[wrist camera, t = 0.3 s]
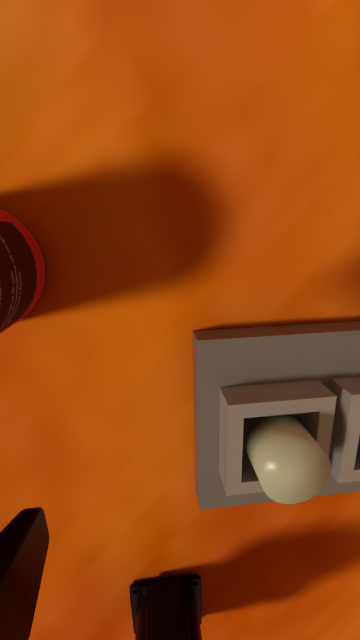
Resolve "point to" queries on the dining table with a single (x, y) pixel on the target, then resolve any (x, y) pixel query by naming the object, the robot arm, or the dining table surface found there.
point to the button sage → (287, 460)
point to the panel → (274, 402)
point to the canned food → (18, 270)
